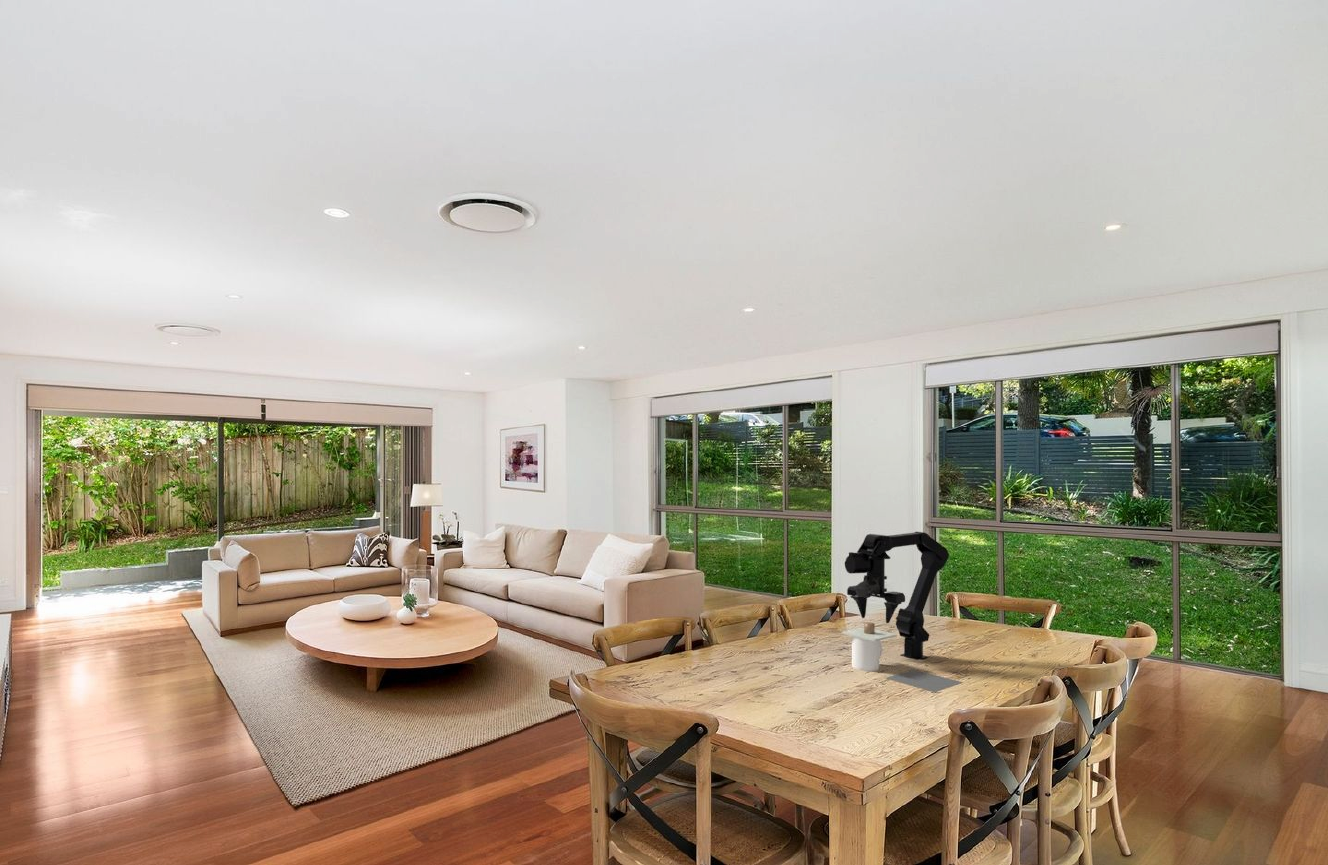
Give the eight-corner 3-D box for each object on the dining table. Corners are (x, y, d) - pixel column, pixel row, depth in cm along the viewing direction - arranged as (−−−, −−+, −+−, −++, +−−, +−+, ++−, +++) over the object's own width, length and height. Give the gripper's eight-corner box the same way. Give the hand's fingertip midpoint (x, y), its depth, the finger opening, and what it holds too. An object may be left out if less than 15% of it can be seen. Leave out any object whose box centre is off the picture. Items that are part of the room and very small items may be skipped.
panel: (864, 629, 225) (864, 617, 225) (896, 636, 216) (896, 624, 216) (841, 633, 217) (842, 622, 218) (874, 641, 208) (874, 629, 208)
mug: (871, 662, 223) (871, 630, 224) (892, 668, 216) (892, 635, 217) (846, 667, 216) (846, 634, 217) (867, 673, 209) (867, 639, 210)
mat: (913, 670, 214) (913, 669, 214) (963, 683, 202) (963, 682, 202) (884, 679, 204) (884, 678, 204) (934, 693, 192) (934, 692, 192)
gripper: (837, 570, 229) (836, 618, 228) (886, 578, 214) (886, 628, 213) (857, 568, 236) (856, 614, 235) (906, 575, 221) (906, 624, 220)
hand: (875, 620), depth 226 cm, fingers open, 9 cm apart
